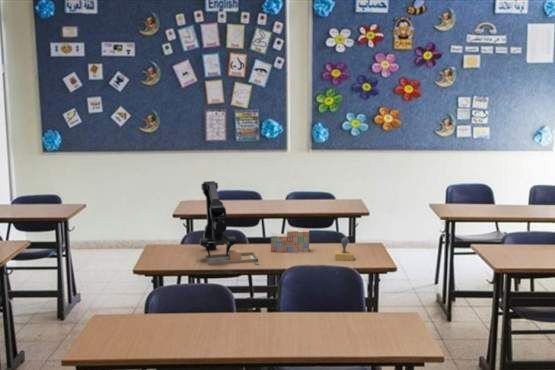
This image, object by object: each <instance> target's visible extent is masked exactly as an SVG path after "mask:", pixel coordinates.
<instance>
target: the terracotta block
mask: <svg viewBox="0 0 555 370" xmlns="http://www.w3.org/2000/svg"><path fill="white" fill-rule="evenodd" d="M241 253H242V251H241V249H229V252H228V254H229V259H230V260H241Z"/></svg>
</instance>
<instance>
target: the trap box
mask: <svg viewBox="0 0 555 370" xmlns="http://www.w3.org/2000/svg"><path fill="white" fill-rule="evenodd" d="M246 256H249V257H250V258H246V259H245V258H244V259H243V257H246ZM205 259H206V262H207V265H208V266H215V265H230V264H231V265H232V264H244V263H245V264H246V263H254V265H255V266H257V265H259V258H258V257H257V255H256V253H255V252H254V251H250V252H249V251H248V252H241V260H230V259H229V253H228V255H227V256H226V253H221V254H219V253H218V254H210V258H209V255H208V254H206V255H205Z"/></svg>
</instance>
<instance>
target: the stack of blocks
mask: <svg viewBox="0 0 555 370" xmlns="http://www.w3.org/2000/svg"><path fill="white" fill-rule="evenodd" d="M286 230H287V232H286V233H271V235H270V252H271V253H298V252H308V253H310V229H309V228H308V229H307V228H287V229H286ZM308 253H307V254H308Z"/></svg>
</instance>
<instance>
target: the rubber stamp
mask: <svg viewBox="0 0 555 370" xmlns="http://www.w3.org/2000/svg"><path fill="white" fill-rule="evenodd" d="M348 240H349V239H347V237H342V238H341V242H340V243H341V246H342V250H335V251H334V261H347V260H354V261H355V255H354V254H355V253H354V251H351V250H349V251H348V250H346V247H347V245H348V242H349V241H348Z"/></svg>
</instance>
